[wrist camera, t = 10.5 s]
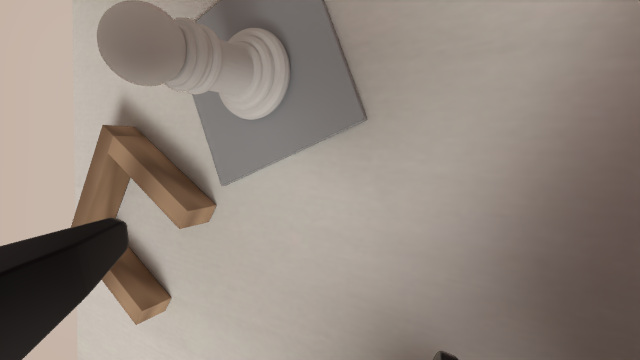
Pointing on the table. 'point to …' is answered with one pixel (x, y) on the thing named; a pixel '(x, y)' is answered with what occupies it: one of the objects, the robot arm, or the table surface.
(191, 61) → the chess piece
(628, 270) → the table surface
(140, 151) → the wooden u-shaped pawn holder
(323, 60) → the slate pad
